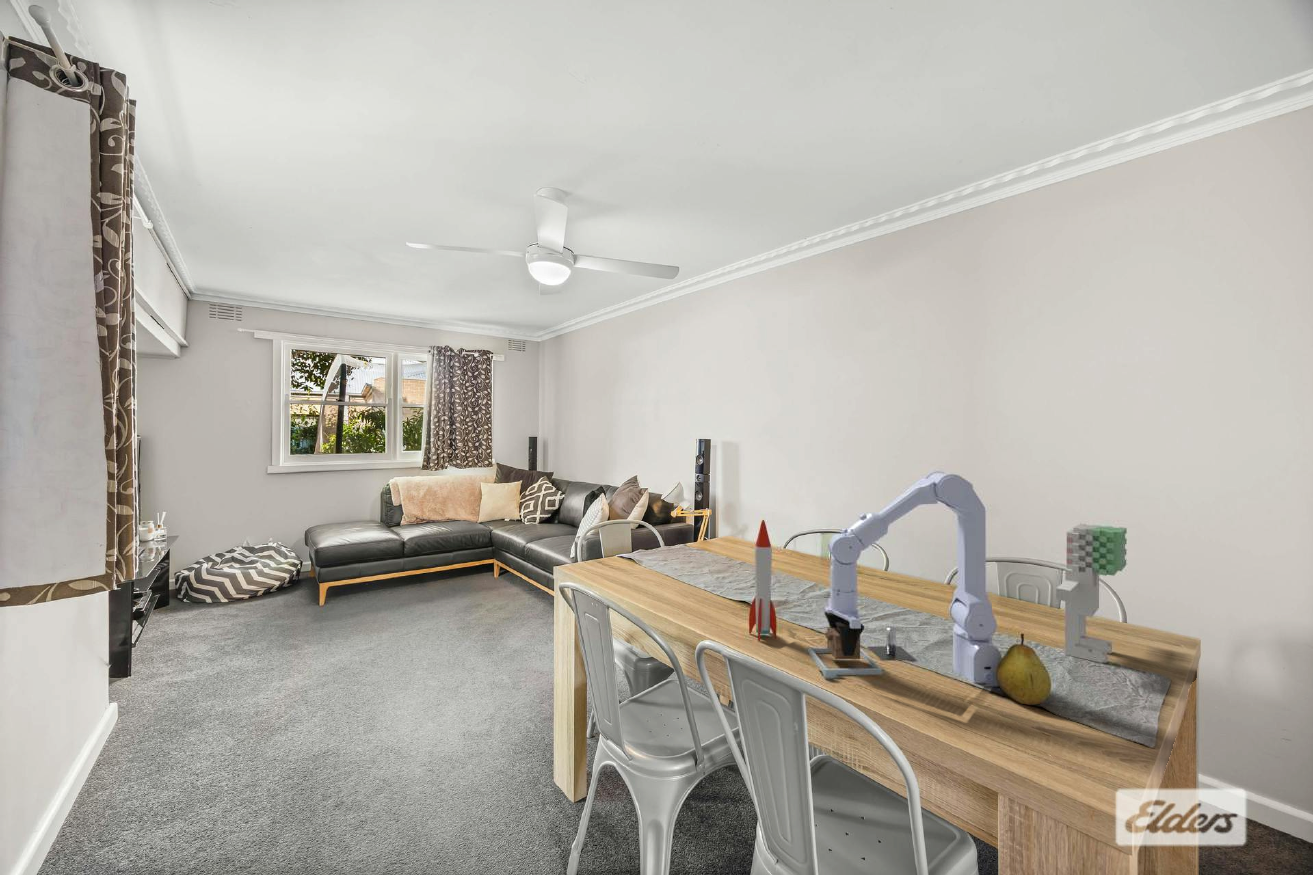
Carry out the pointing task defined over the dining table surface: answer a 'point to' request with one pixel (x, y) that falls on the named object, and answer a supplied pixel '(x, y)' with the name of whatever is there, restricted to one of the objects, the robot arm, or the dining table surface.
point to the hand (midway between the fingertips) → (843, 649)
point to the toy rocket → (763, 587)
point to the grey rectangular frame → (833, 672)
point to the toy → (1088, 584)
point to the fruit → (1023, 675)
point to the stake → (891, 648)
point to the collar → (839, 645)
